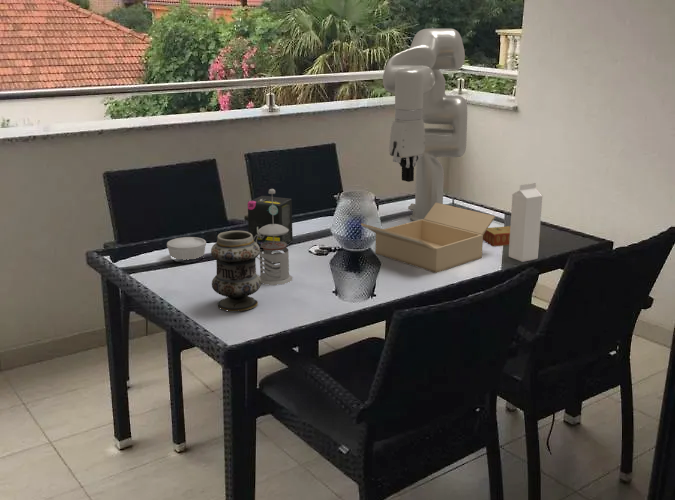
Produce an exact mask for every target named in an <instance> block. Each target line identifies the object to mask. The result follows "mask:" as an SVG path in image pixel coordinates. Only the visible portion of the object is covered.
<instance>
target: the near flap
mask: <svg viewBox="0 0 675 500" xmlns="http://www.w3.org/2000/svg"><path fill="white" fill-rule="evenodd" d="M360 225H361V226H362V227H364V228H365V229H368V230H369V231H371V232H373V233H375V234H376V233H377V234H381V235H384V236H387V237H391V238H394V239H398V240H401V241H405V242H408V243H412V244H415V245H418V246H422V247H425V248H429V249H432V250H434V249H435V248H433V247H432V246H430V245H428V244H426V243H425V242H423V241H421V240H419V239H416V238H412V237H409V236H405V235H402V234H398V233H395V232H391V231H388V230H384V229H385V228H381V227H377V226H373V225H369V224H365V223H360Z"/></svg>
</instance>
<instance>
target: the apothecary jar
mask: <svg viewBox="0 0 675 500" xmlns="http://www.w3.org/2000/svg"><path fill="white" fill-rule="evenodd" d="M259 253H260V247H259V245H258V244H257V243H256V242H255V241H254V240H253V236H252V234H251V233H249V232H248V231H245V230H229V231H223V232H220V233H219V234H217V241H216V243H213V245H212V247H211V249H210V254H211V256H212V258H213V259H214V260H215V262H216V275H215V276H214V277H213V278H212V280H211V288H212V289H213V290H214V292H215V293H216V294H219V295H220V296H222V297H225V298H223V299H221V300H219V301H218V302H217V308H218V309H220V308H221V309H224V310H228V311H227V312H229V311H240V312H246V311H249V309H250V310H253V309H255V308H256V307H258V304H259V303H258V300H256V299H255V298H254V297H252V296H251V295H254V294H255V293H256V292H257V291H259V290H260V288H261V286H262V284H261V279H260V277H259V276H260V275H258V273H257V263H256V259H257V257H258V256H260V255H259ZM254 307H255V308H254ZM252 308H253V309H252ZM221 309H220V310H221ZM224 310H223V311H224ZM245 310H246V311H245Z"/></svg>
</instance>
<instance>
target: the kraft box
mask: <svg viewBox="0 0 675 500" xmlns="http://www.w3.org/2000/svg"><path fill="white" fill-rule="evenodd" d="M383 229H384V230H388V231H391V232H395V233H398V234H402V235H405V236H409V237H412V238H416V239H419V240H421V241H423V242H425V243H426V244H428V245H430V246H432V247H433V248H435V249H434V250H432V249H429V248H425V247H422V246H418V245H415V244H412V243H408V242H405V241H401V240H398V239H394V238H391V237H387V236H384V235H381V234H377V233H375V254H376V255H378V256H382V257H385V258H388V259H390V260H394V261H398V262H400V263H404V264H406V265H409V266H413V267H415V268H420V269H423V270H425V271H429V272H432V273H434V274H438V273H441V272H442V271H443V272H444V271H447V270H449V269H451V268H452V269H453V268H455V267H458V266H461V265H464V264H467V263H471V262H473V261H477V260H479V259H483V245H484V244H483V241H484V240H483V235H481V234H477V233H474V232H470V231H466V230H462V229H458V228H454V227H450V226H446V225H442V224H438V223H434V222H431V221H427V220H423V219H421V220H417V221H410V222H406V223H403V224H402V223H401V224H398V225H394V226H390V227H387V228H383Z"/></svg>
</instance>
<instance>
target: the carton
mask: <svg viewBox="0 0 675 500" xmlns="http://www.w3.org/2000/svg"><path fill="white" fill-rule="evenodd" d="M510 226H511V225H507V226H505V225H504V226H497V227H496V226H494V227H493V226H492V227H488V228H487V230H486V231H485V233H484V234H483V241H484V242H486V243H487V244H488V245H490V246H492V247H503V246H509V242H510ZM539 243H541V234H540V235H539Z"/></svg>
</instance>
